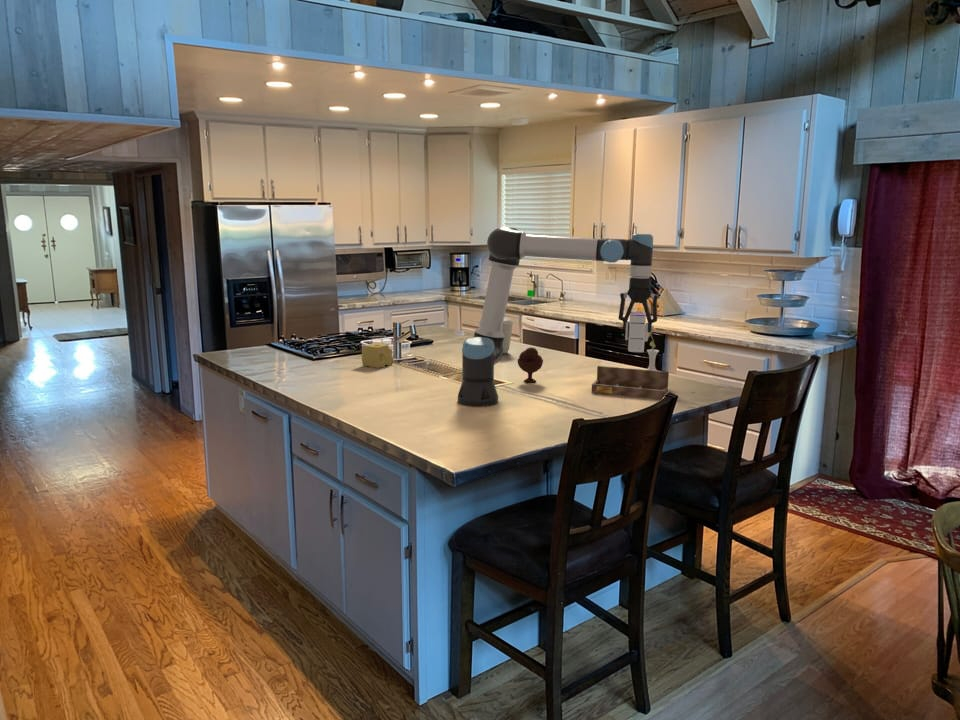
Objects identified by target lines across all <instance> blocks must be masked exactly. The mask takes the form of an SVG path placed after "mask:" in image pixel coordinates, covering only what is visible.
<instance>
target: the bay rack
mask: <svg viewBox="0 0 960 720" xmlns="http://www.w3.org/2000/svg"><path fill="white" fill-rule="evenodd" d="M669 377H670V372H669V371H666V370H665V371H663V370H657V371H653V370H647V369H639V368H629V367H627V368H626V367H616V366H615V367H613V366H603V365H602V366H601V365H597V370H596V380H595V381H593V383H592V384H591V394H598V393H601V394H600V395H608V394H611V395H610V396H619V395H621V397H629V396H631V398H638V399H639V398H641V399H649V398H651V399H652V400H660V401H662V400H661V399H662V398H663V397H664V396H665V394H667V395H668V394H669V393H668V390H669ZM651 399H650V400H651Z"/></svg>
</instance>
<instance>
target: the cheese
mask: <svg viewBox="0 0 960 720" xmlns="http://www.w3.org/2000/svg"><path fill="white" fill-rule="evenodd" d="M392 355H393V349H392V348H391V347H390V346H389V344H387V343H384V342H383V343H382V342H379V341H374V342H372V343H369V344H363V345H362V347H361V363H362V367H366V366H369V367H368V368H373V367H376V368H375V369H381V368H380V367H382V368H385V367H386V366H385V365H391V366H393V365H394V357H393V356H392ZM392 364H393V365H392ZM384 366H385V367H384Z"/></svg>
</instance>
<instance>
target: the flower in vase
mask: <svg viewBox="0 0 960 720" xmlns="http://www.w3.org/2000/svg"><path fill="white" fill-rule="evenodd" d="M654 328H655V326H654V324H652V329H651V332H648V339H649V338H650V337H651V341H650V343H649V346H651V349H647V350H646V352H647V353H648V359H649V360H648V361H649V365H648V367H647V369H646V370H653V371H658V370H657V368H656V358H657V354H658V353H659V352H660V350H658V349H655V348H656V344H655V340H654V337H653V335H652V333H653V331H654Z"/></svg>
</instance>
